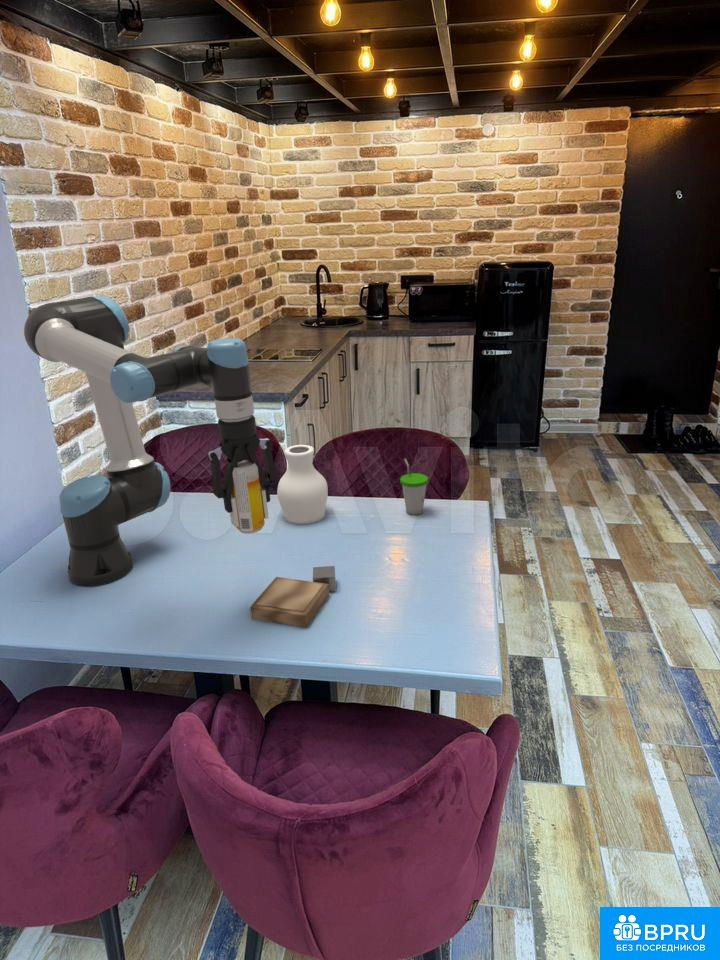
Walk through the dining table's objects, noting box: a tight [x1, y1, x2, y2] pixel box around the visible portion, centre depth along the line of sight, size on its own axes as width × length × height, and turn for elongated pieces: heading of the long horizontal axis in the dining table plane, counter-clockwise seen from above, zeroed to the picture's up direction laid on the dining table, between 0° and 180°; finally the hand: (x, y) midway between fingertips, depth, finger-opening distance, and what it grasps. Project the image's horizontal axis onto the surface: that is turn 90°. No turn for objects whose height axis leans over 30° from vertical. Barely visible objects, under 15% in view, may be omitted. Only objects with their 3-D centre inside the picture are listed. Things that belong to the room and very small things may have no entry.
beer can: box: [232, 460, 265, 534], centre depth 145 cm, size 6×6×15 cm
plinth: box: [249, 576, 330, 629], centre depth 150 cm, size 13×13×3 cm
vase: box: [276, 444, 329, 525], centre depth 191 cm, size 14×14×20 cm
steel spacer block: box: [312, 565, 337, 593], centre depth 158 cm, size 5×5×4 cm
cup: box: [399, 458, 429, 517], centre depth 191 cm, size 8×8×15 cm
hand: (250, 520), depth 147 cm, fingers closed on beer can, 6 cm apart
